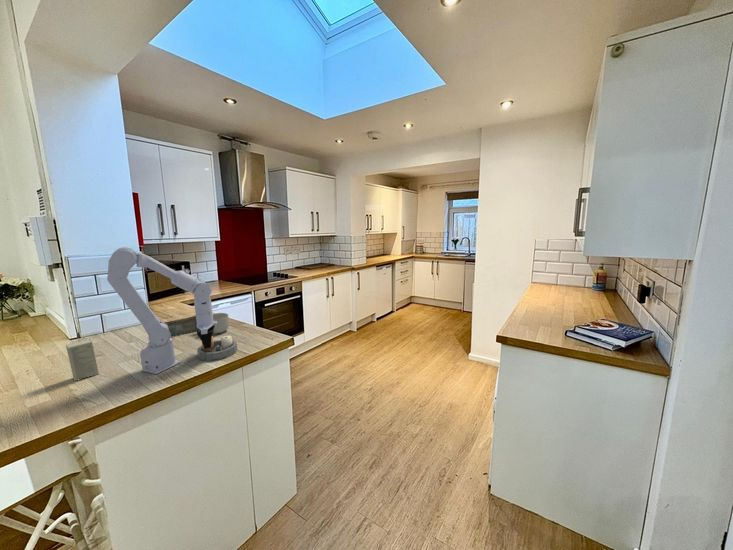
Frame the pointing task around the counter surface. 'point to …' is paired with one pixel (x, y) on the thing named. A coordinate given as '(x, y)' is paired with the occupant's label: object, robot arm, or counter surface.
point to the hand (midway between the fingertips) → (208, 345)
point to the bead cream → (226, 342)
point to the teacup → (220, 322)
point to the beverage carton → (182, 326)
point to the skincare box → (82, 359)
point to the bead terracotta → (209, 348)
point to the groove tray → (217, 351)
